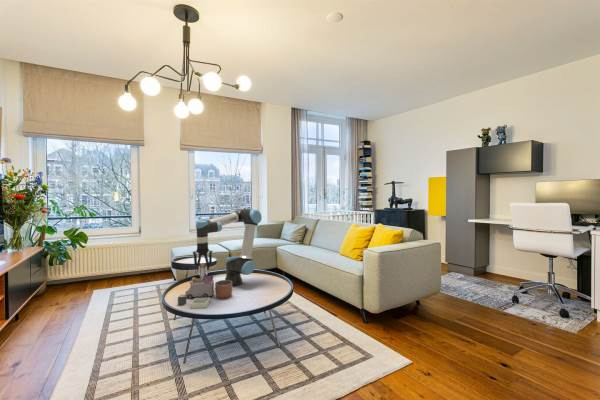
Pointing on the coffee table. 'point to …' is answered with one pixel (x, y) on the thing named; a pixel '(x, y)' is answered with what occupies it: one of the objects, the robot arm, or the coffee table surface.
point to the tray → (200, 303)
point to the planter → (223, 289)
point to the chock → (182, 300)
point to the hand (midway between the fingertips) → (203, 274)
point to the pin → (202, 272)
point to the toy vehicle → (201, 287)
